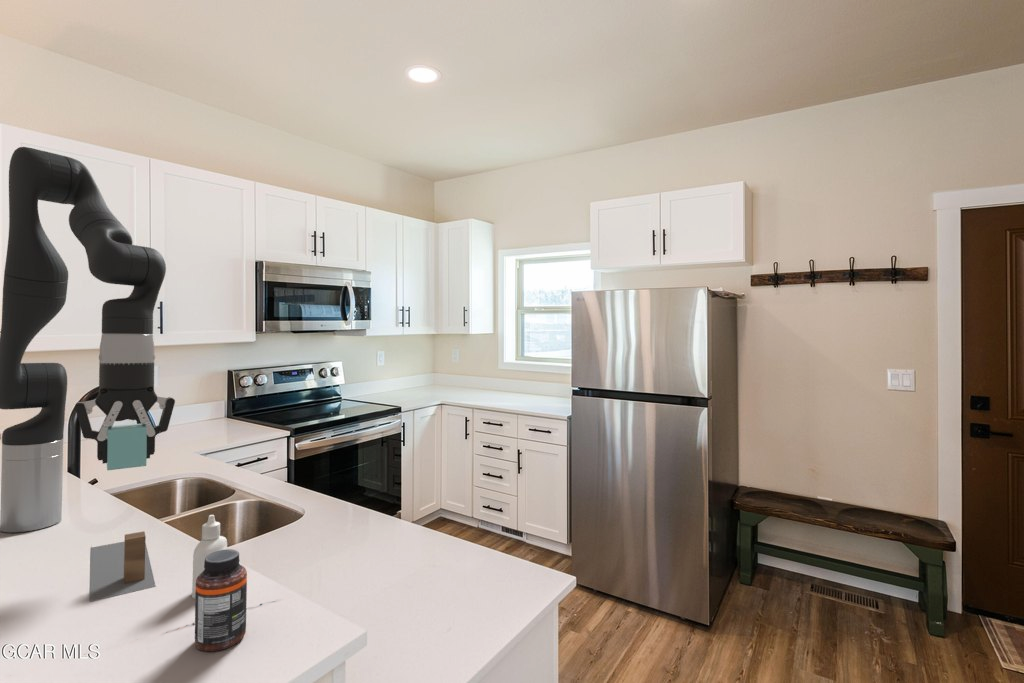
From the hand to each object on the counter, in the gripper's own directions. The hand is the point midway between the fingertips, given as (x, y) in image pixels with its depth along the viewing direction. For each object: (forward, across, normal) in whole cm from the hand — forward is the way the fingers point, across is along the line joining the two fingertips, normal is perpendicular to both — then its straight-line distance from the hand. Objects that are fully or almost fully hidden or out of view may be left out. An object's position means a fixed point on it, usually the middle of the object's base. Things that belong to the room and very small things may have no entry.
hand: (126, 459), depth 87 cm
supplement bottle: (+20, -9, +32) cm, 39 cm away
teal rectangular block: (+1, 0, 0) cm, 1 cm away
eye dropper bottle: (+19, -10, +17) cm, 28 cm away
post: (+18, -1, +6) cm, 19 cm away
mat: (+18, +1, -1) cm, 18 cm away
